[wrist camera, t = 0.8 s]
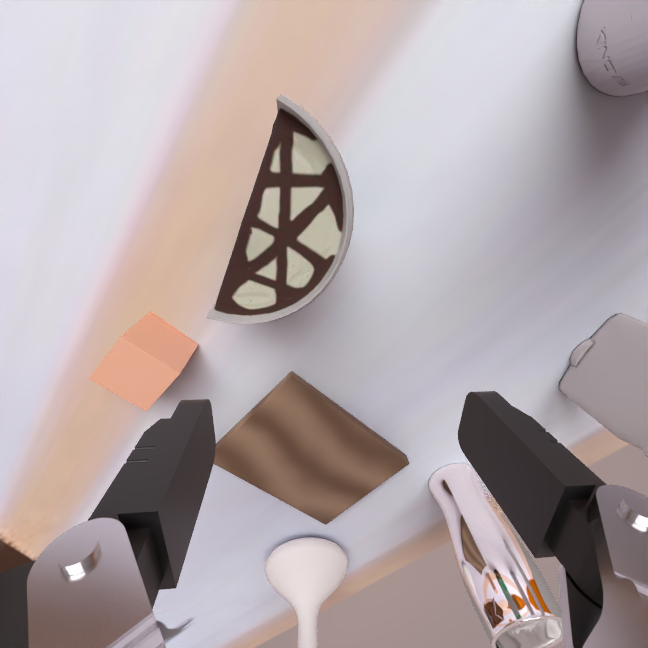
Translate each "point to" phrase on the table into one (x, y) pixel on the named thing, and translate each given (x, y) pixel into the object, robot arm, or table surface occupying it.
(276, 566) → the flower in vase
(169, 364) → the terracotta cube
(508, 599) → the beer glass
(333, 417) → the walnut board
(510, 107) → the table surface
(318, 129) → the food container
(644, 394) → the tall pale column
